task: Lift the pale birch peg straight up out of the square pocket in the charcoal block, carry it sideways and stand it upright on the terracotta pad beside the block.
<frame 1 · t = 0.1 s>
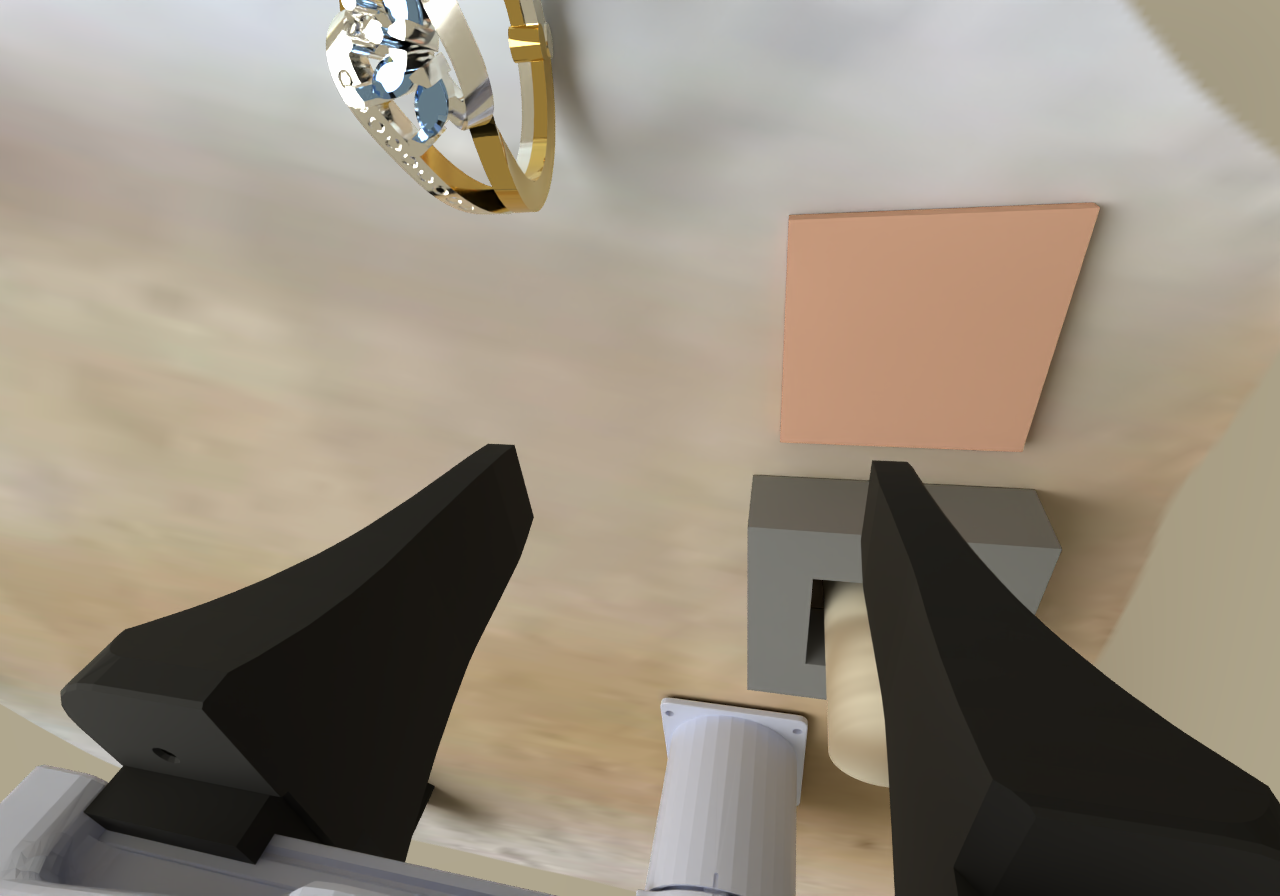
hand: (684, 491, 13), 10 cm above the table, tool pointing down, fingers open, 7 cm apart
ring: (540, 40, 17), on the table
pocket block: (871, 573, 26), on the table
peg: (880, 652, 23), in the pocket block
pad: (911, 337, 20), on the table
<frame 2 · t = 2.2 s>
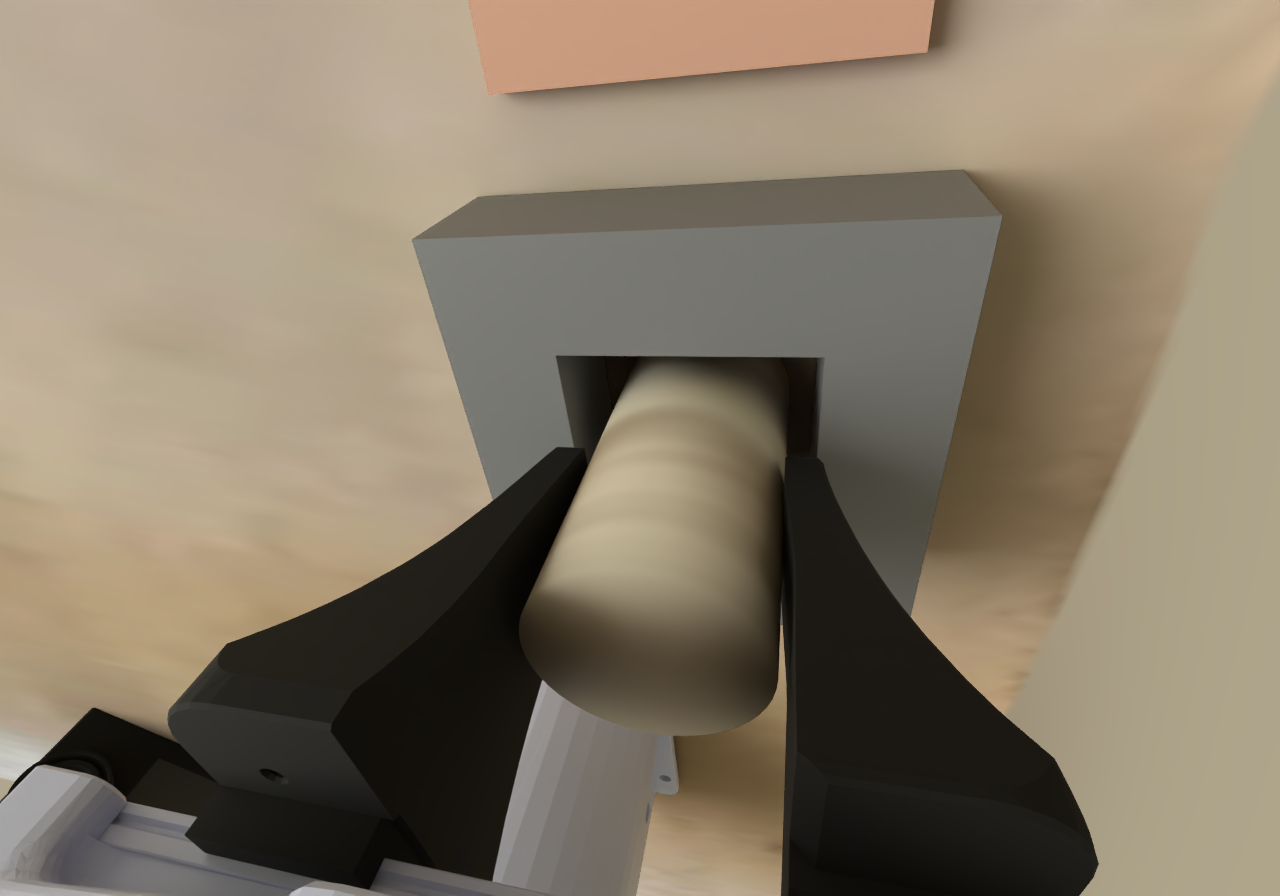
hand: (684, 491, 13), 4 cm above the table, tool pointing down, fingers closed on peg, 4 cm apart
pocket block: (707, 392, 16), on the table
peg: (683, 493, 13), in the pocket block, touching gripper
digital camera: (177, 746, 40), on the table
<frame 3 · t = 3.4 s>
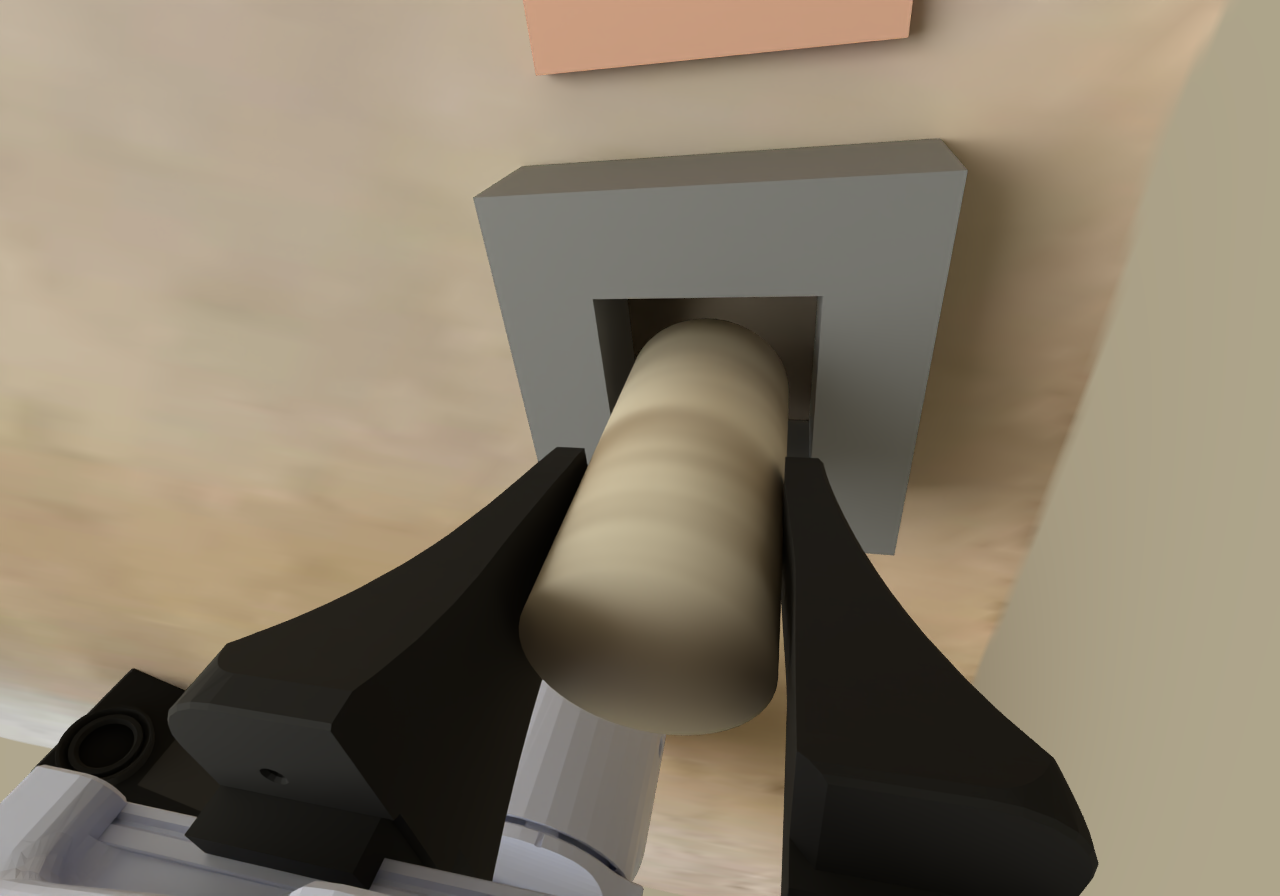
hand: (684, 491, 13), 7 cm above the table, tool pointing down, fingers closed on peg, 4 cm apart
pocket block: (720, 342, 18), on the table
peg: (683, 493, 13), point 7 cm above the table, touching gripper
digital camera: (211, 706, 42), on the table
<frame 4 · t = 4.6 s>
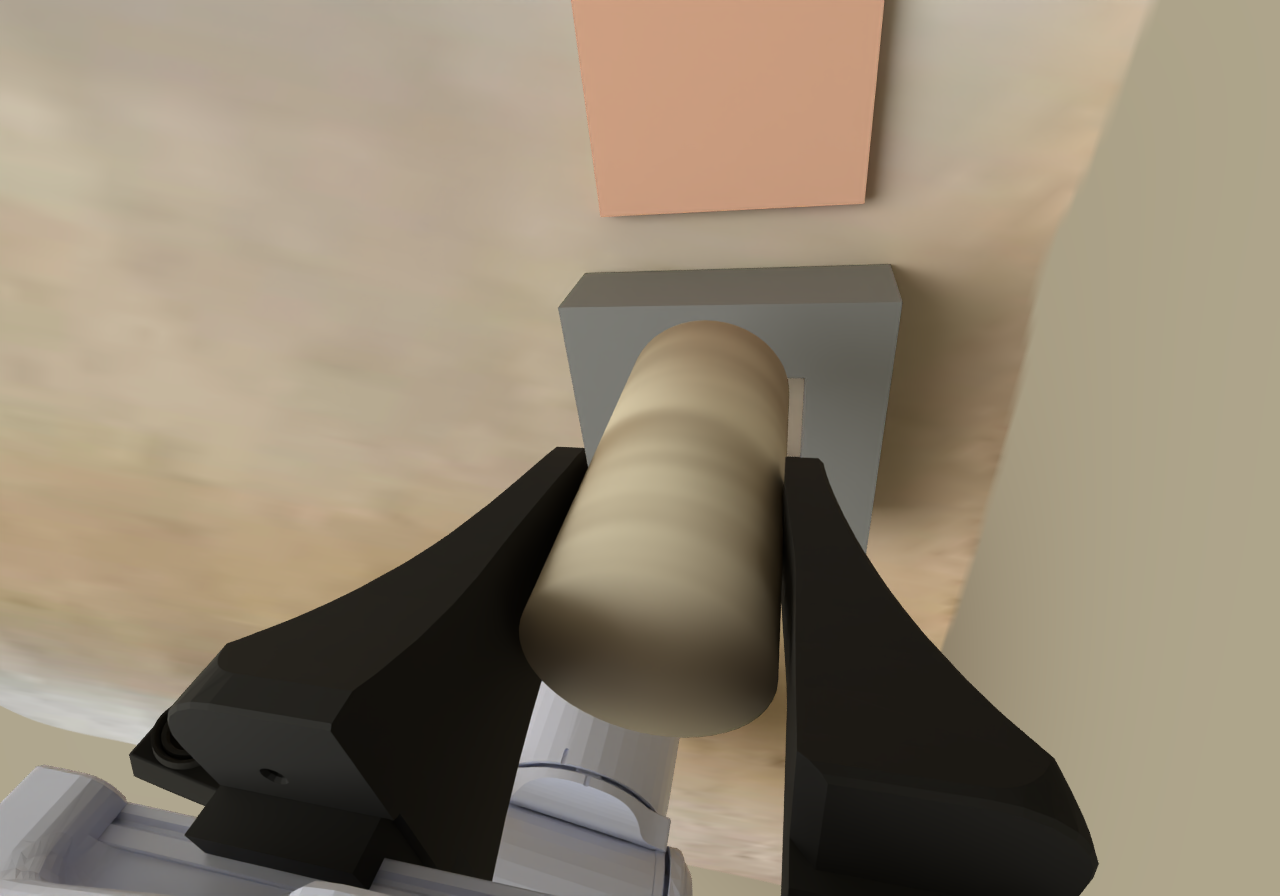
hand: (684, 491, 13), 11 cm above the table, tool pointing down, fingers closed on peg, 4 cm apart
pocket block: (731, 399, 23), on the table
peg: (683, 495, 13), point 11 cm above the table, touching gripper
digital camera: (275, 698, 47), on the table
pad: (724, 55, 17), on the table
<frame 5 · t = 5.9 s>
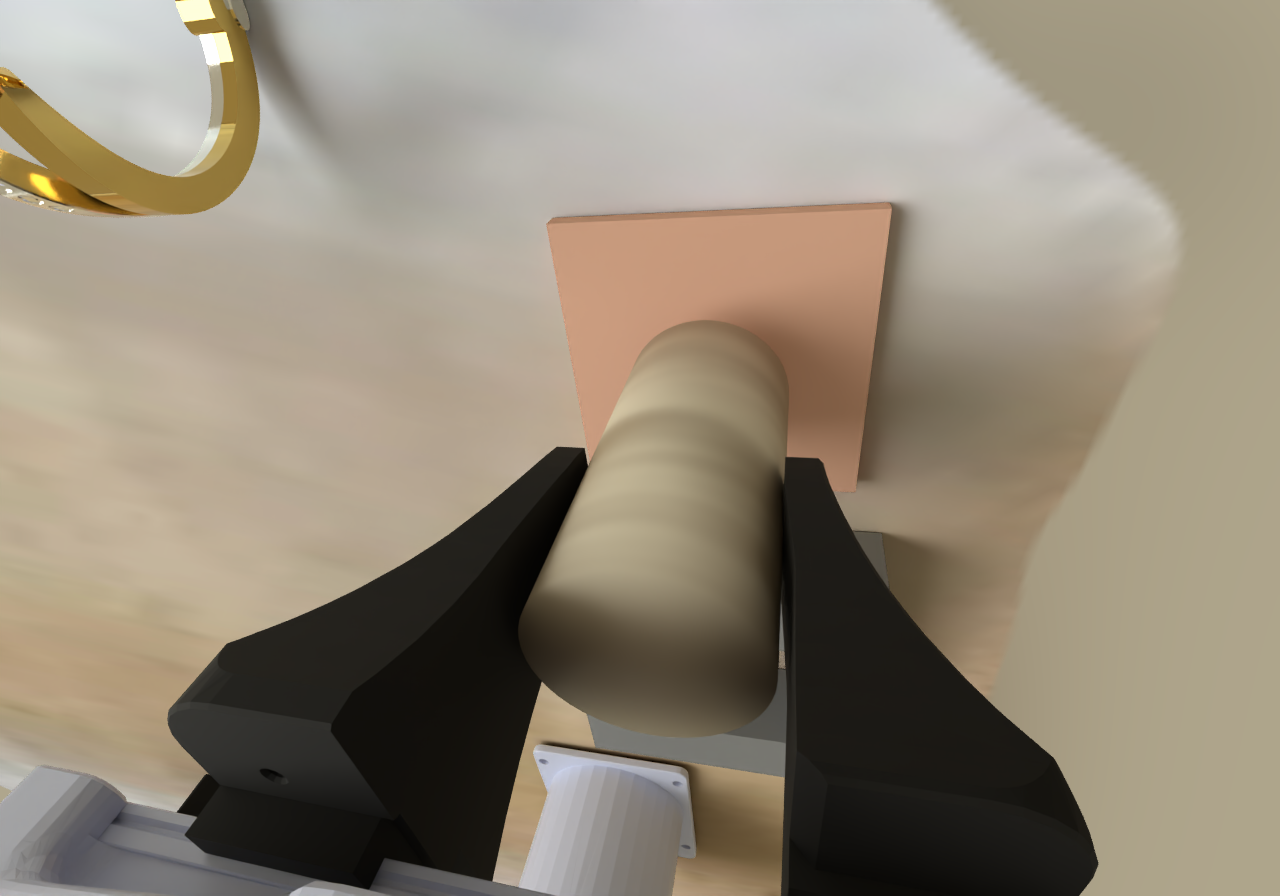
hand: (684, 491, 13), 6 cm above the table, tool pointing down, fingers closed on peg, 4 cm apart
ring: (237, 10, 15), on the table
pocket block: (724, 620, 23), on the table
peg: (683, 494, 13), point 6 cm above the table, touching gripper
digital camera: (273, 803, 48), on the table
pad: (715, 360, 17), on the table
when the fingers open (5 cm above the table, at t = 6.8 s): peg stays where it is, resting on pad.
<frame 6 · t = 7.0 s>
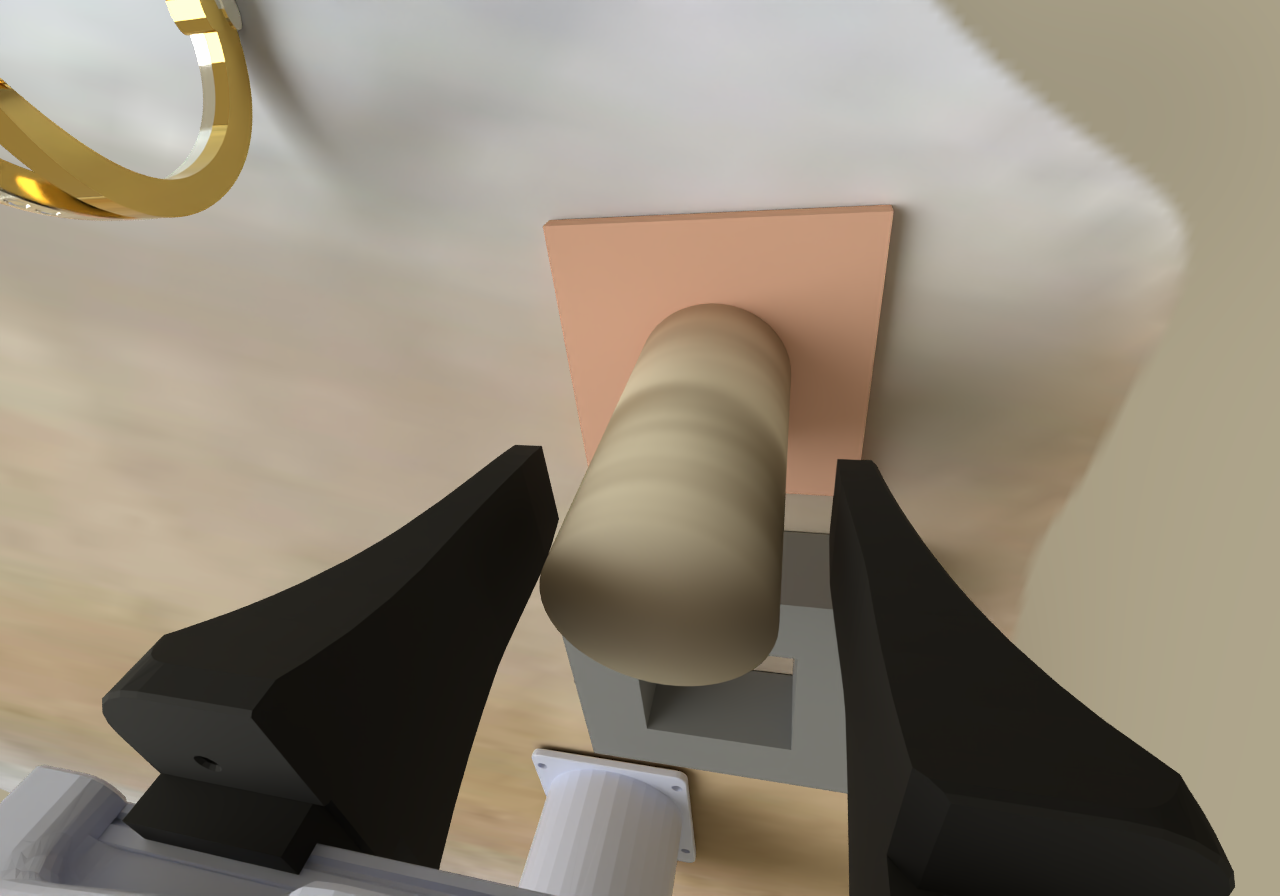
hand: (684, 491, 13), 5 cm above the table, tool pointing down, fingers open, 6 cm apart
ring: (228, 9, 14), on the table
pocket block: (724, 625, 23), on the table
peg: (691, 465, 13), on the pad
pad: (714, 364, 17), on the table
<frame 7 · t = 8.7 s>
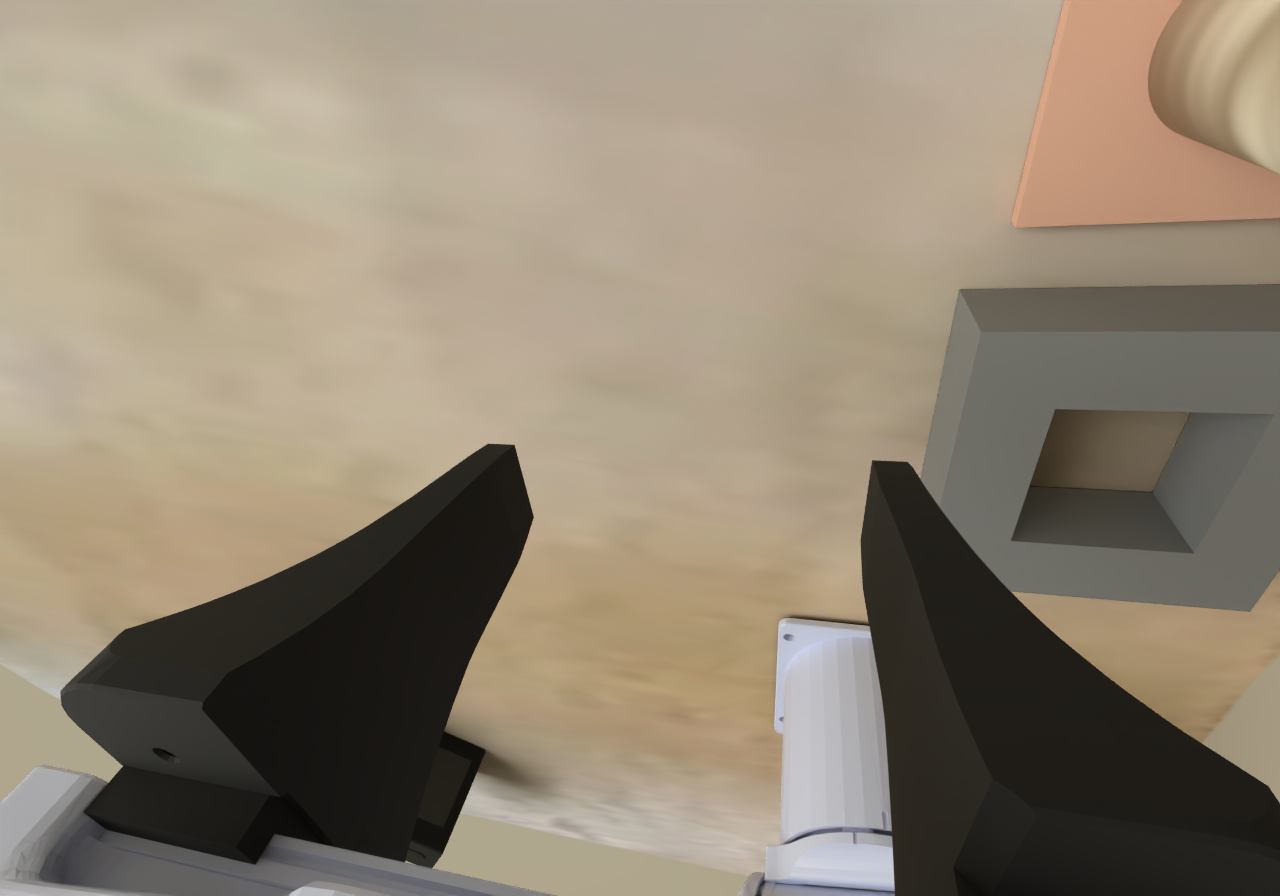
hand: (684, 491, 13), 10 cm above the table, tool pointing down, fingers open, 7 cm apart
pocket block: (1091, 428, 21), on the table
digital camera: (419, 726, 45), on the table
pad: (1241, 41, 15), on the table
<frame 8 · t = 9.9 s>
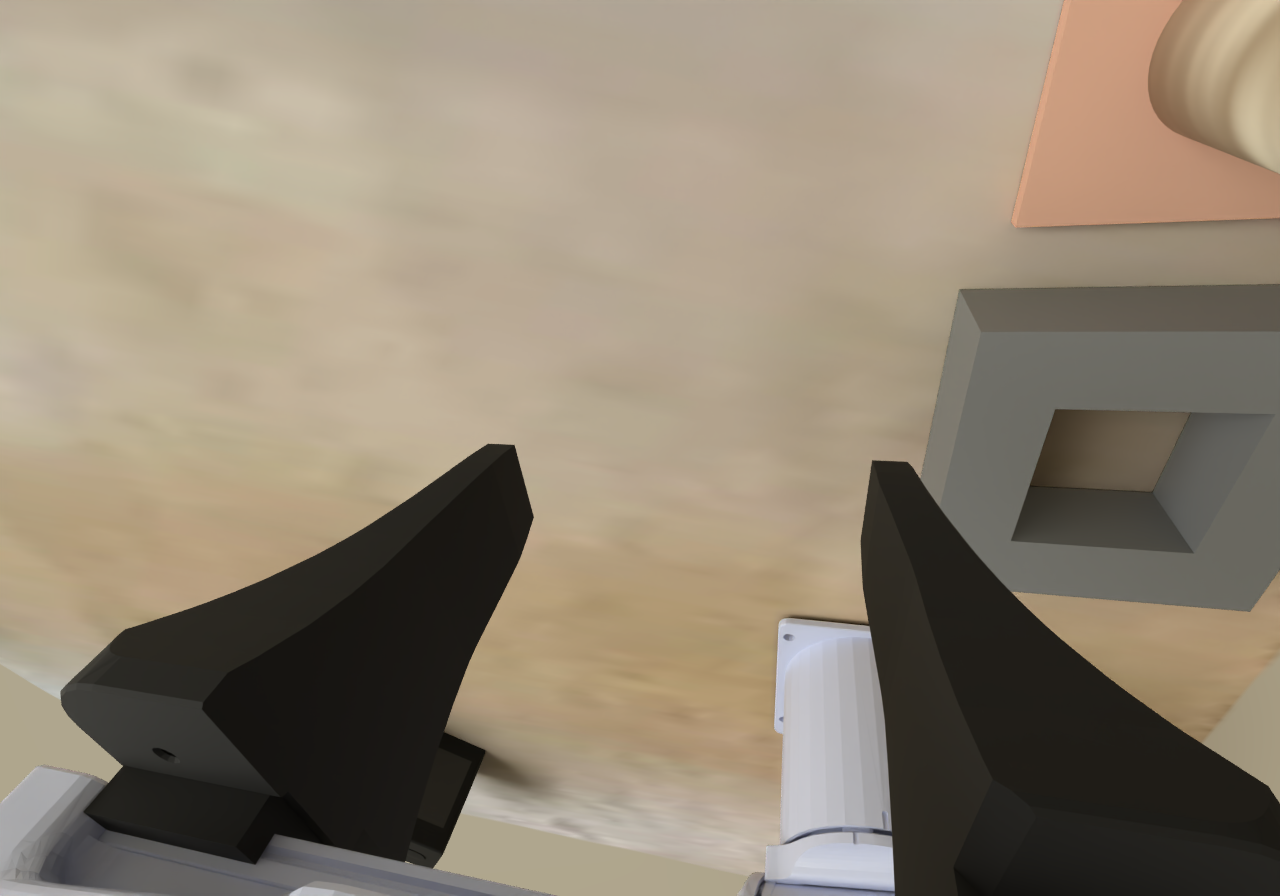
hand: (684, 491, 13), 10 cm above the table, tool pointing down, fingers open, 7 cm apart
pocket block: (1091, 428, 21), on the table
digital camera: (419, 727, 45), on the table
pad: (1241, 41, 15), on the table
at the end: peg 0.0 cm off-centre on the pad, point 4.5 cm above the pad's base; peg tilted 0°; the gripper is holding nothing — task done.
